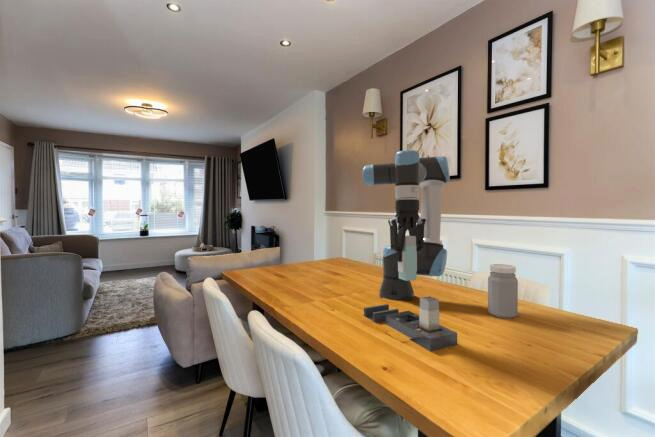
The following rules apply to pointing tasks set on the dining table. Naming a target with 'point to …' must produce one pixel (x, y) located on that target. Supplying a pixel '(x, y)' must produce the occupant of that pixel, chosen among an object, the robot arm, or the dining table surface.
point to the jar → (503, 291)
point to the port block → (423, 326)
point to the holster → (378, 312)
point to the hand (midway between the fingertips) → (407, 271)
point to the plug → (409, 259)
